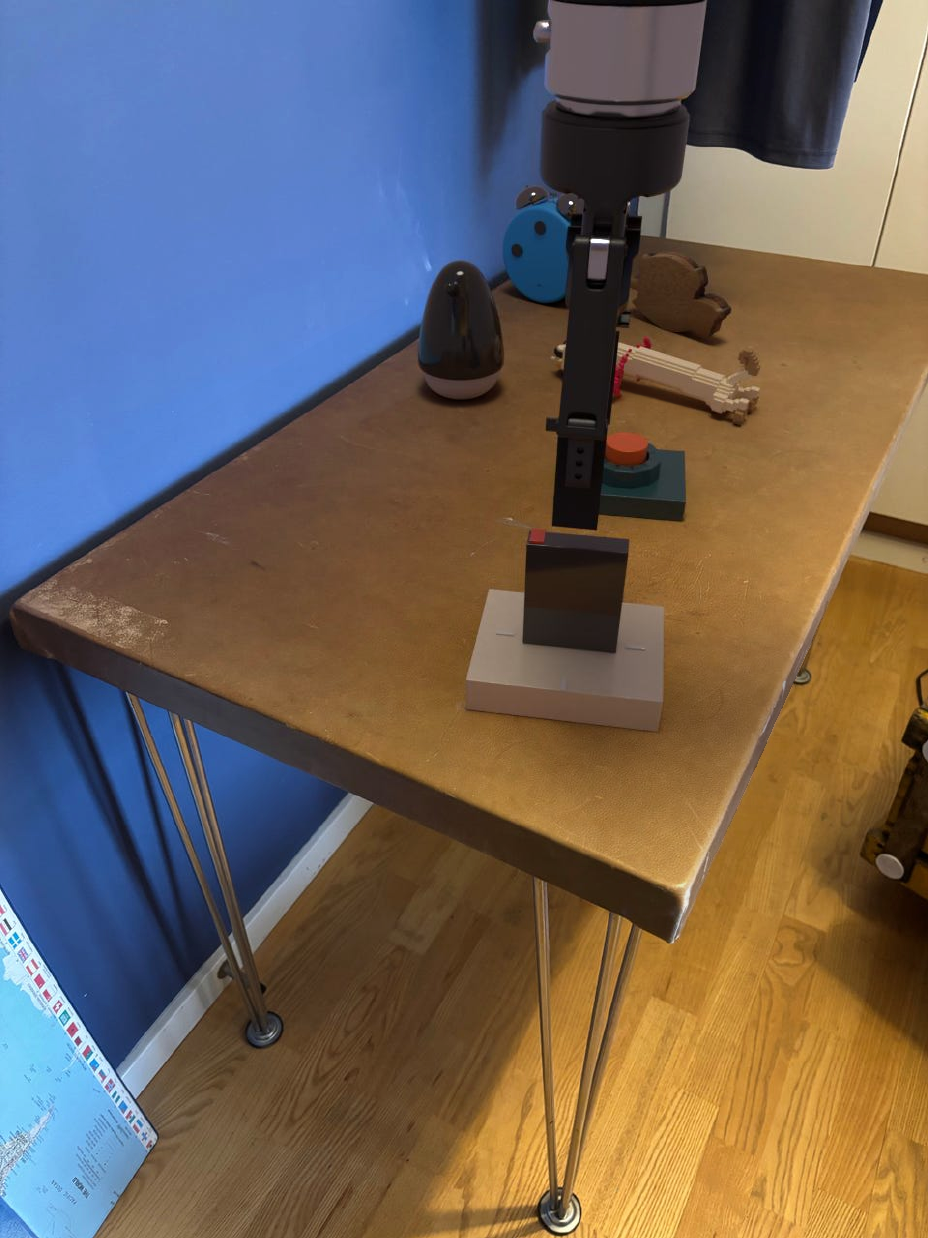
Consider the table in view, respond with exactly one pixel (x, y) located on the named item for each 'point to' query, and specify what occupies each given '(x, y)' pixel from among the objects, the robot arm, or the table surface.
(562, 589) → the tap handle
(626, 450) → the button
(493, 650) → the plate
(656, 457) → the button block
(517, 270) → the alarm clock
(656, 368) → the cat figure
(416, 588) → the table surface
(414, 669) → the table surface
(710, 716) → the table surface
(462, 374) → the dark egg shaped device
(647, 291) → the wooden carving
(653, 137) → the robot arm
